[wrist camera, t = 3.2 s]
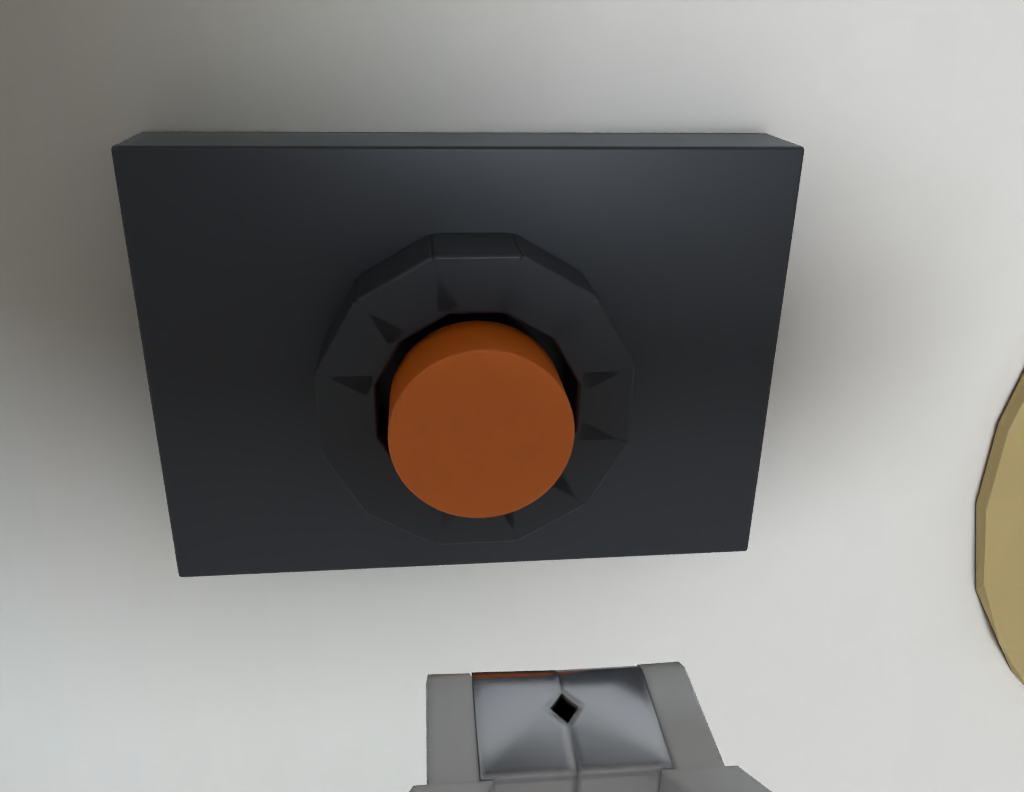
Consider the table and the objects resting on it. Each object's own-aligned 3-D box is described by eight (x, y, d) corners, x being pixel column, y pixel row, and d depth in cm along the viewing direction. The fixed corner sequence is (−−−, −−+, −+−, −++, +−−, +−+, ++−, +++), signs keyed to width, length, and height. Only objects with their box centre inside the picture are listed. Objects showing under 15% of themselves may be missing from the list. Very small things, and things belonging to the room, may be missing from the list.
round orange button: (393, 480, 19) (391, 522, 18) (386, 321, 18) (383, 351, 16) (558, 473, 20) (570, 515, 18) (564, 317, 18) (579, 348, 17)
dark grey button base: (198, 529, 23) (159, 626, 20) (140, 131, 19) (77, 161, 16) (720, 507, 25) (774, 594, 21) (767, 133, 21) (844, 160, 17)
